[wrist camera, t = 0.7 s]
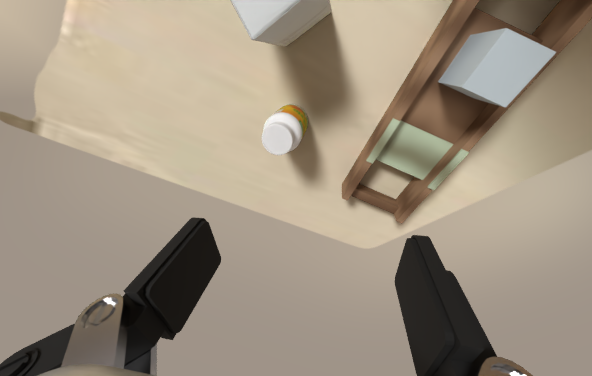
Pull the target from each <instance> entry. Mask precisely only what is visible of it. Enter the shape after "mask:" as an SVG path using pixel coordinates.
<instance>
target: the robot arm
mask: <svg viewBox="0 0 592 376" xmlns="http://www.w3.org/2000/svg"><path fill="white" fill-rule="evenodd" d="M220 262H221V256H220V253H219V250H218V248H217V245H216V242H215V240H214V237H213V234H212V231H211V228H210V225H209V223H208V222H207V221H206V220H205V219H204V218H191V219H190V220H189V221H188V222H187V223H186V224H185V225H184V226H183V227H182V229H181V230H180V231H179V232H178V233H177V234H176V235H175V236H174V237H173V238H172V239H171V240H170V242H169V243H168V244H167V245H166V246H165V247H164V248H163V249H162V250H161V251H160V252H159V253H158V254H157V256H156V257H155V258H154V259H153V260H152V261H151V262H150V263H149V264H148V265H147V266H146V267H145V268H144V269H143V271H142V272H141V273H140V274H139V275H138V276H137V277H136V278H135V279H134V280H133V281H132V282H131V283H130V284H129V286H128V287H127V288H126V289H125V290H124V292H125V295H124V296H123V297H122V296H121V295H120V294H109V295H106V296H103V297H101V298H99V299H97V300H96V301H94V302H93V303H91V304H90V305H89V306H88V307H86V308H85V309H84V310H83V311H82V313H81V314H80V315H79V316H78V319H77V320H76V322H75V324H73V325H71V326H69V327H66V328H64V329H62V330H61V331H58V332H56V333H54V334H52V335H50V336H48V337H46V338H44V339H42V340H40V341H38V342H36V343H34V344H31V345H30V346H27V347H25V348H23V349H21V350H20V351H18V352H16V353H14V354H13V355H12V356H10V357H9V358H7V359H6V360H5V361H4V362H2V363H1V364H0V376H157V375H156V374H157V372H156V369H157V368H156V367H157V364H156V363H157V342H158V340H159V339H160V337H162V338H165V339H170V340H173V338H174V337H175V335H176V333H178V332H180V331H181V329H182V328H183V326H184V325H185V323H186V321H187V319H188V318H189V316H190V314H191V313H192V311H193V309H194V307H195V306H196V304H197V302H198V301H199V299H200V297H201V295H202V293H203V292H204V290H205V288H206V287H207V285H208V283H209V282H210V280H211V278H212V277H213V275H214V273H215V271H216V270H217V268H218V266H219V265H220ZM395 286H396V290H397V295H398V299H399V303H400V307H401V312H402V316H403V320H404V324H405V328H406V332H407V336H408V341H409V345H410V349H411V353H412V357H413V362H414V366H415V370H416V374H417V376H533V375H531V374H530V373H529V372H528V371H527V370H525V369H524V368H523V367H521V366H519V365H517V364H516V363H514V362H513V361H510V360H508V359H505V358H502V357H497V356H496V354H495V352H494V350H493V348H492V346H491V344H490V342H489V340H488V338H487V336H486V334H485V332H484V331H483V329H482V327H481V325H480V323H479V321H478V319H477V317H476V316H475V314H474V312H473V310H472V308H471V306H470V304H469V302H468V300H467V298H466V296H465V294H464V293H463V290H462V289H461V287H460V285H459V283H458V281H457V279H456V277H455V276H454V274H453V273H452V272H451V271H447V270H445V268H444V266H443V264H442V262H441V260H440V258H439V256H438V254H437V252H436V250H435V248H434V246H433V244H432V241H431V239H430V238H429V237H428V236H417V235H413V236H412V237H411V238H407V240H406V243H405V246H404V250H403V253H402V256H401V260H400V263H399V266H398V270H397V273H396V276H395Z"/></svg>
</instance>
